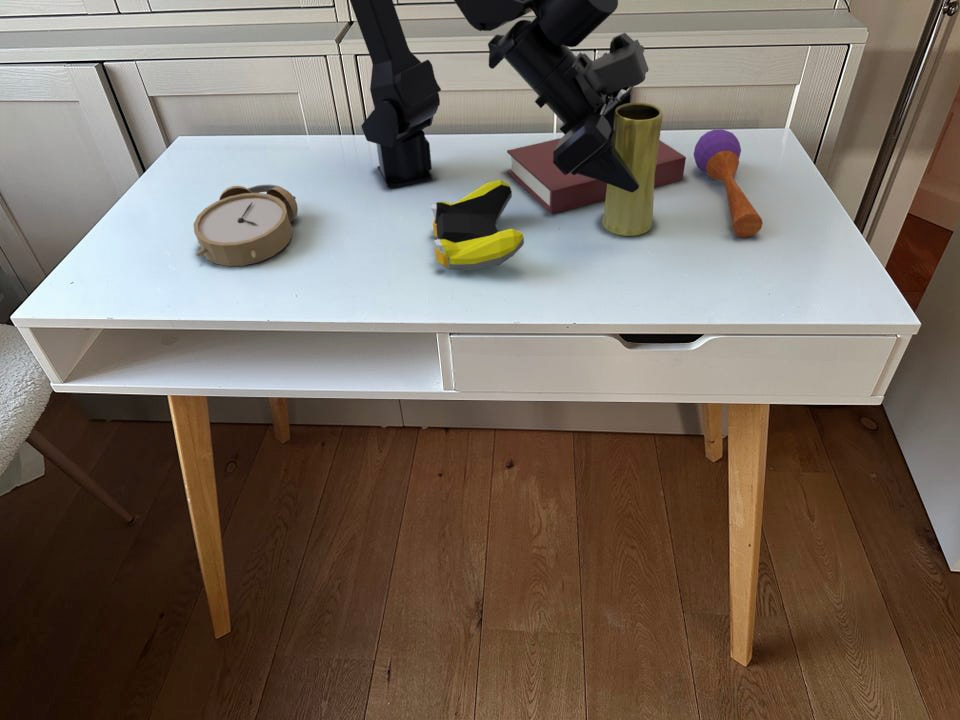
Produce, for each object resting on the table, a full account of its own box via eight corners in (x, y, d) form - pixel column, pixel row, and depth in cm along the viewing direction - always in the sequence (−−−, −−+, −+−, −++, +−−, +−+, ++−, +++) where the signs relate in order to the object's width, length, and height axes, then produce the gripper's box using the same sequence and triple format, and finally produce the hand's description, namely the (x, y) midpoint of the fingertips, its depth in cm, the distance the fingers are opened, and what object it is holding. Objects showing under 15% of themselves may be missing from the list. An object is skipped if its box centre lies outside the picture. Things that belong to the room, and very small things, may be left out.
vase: (640, 241, 86) (654, 126, 77) (593, 229, 88) (601, 116, 79) (659, 219, 90) (674, 106, 80) (614, 207, 92) (623, 97, 83)
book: (551, 214, 92) (552, 190, 90) (507, 172, 101) (506, 150, 99) (682, 179, 97) (686, 157, 95) (629, 143, 107) (631, 121, 104)
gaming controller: (510, 213, 92) (432, 220, 92) (509, 174, 89) (428, 180, 88) (526, 279, 81) (437, 287, 80) (526, 237, 77) (433, 244, 77)
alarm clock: (176, 245, 84) (222, 167, 93) (192, 275, 88) (235, 197, 97) (266, 249, 82) (305, 169, 92) (279, 280, 86) (314, 200, 96)
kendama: (721, 209, 83) (689, 126, 97) (721, 250, 87) (690, 164, 101) (775, 199, 82) (735, 117, 96) (772, 241, 86) (734, 156, 100)
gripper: (588, 45, 68) (691, 165, 72) (620, -7, 81) (705, 97, 86) (510, 120, 75) (608, 225, 79) (551, 61, 88) (633, 153, 93)
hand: (641, 171), depth 84 cm, fingers open, 9 cm apart
